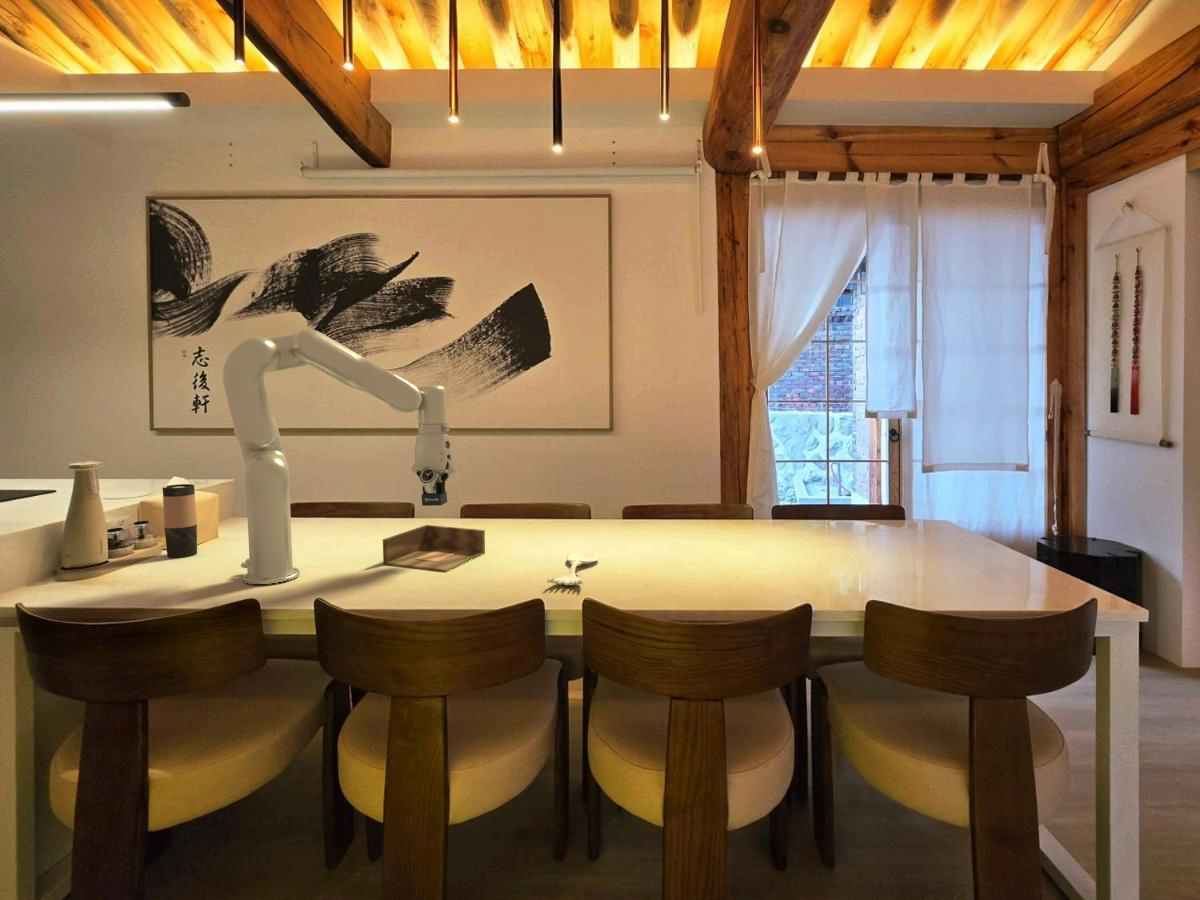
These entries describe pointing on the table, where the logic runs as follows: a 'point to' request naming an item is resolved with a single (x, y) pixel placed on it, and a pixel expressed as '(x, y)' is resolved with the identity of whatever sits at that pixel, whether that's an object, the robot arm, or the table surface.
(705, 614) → the table surface
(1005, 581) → the table surface
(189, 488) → the travel mug
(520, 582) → the table surface
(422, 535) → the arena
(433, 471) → the watch
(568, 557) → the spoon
